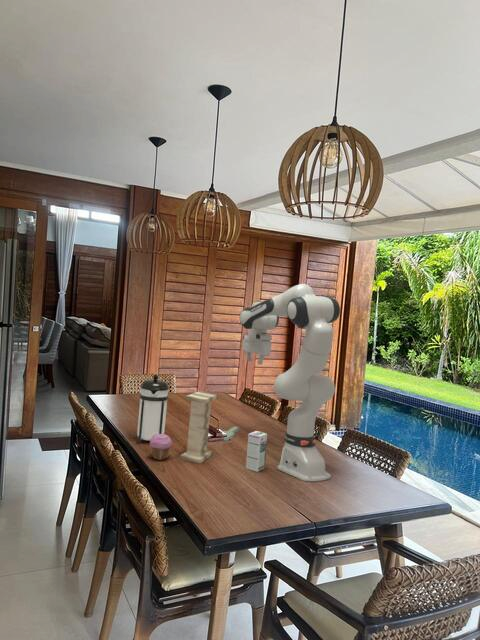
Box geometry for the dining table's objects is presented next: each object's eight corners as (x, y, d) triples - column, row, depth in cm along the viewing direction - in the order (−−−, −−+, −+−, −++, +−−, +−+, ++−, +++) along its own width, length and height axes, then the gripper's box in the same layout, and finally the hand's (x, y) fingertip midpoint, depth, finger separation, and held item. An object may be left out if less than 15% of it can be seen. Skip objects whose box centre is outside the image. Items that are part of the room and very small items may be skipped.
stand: (193, 450, 210) (198, 391, 209) (212, 454, 207) (217, 394, 206) (179, 459, 198) (185, 396, 197) (199, 463, 195) (205, 399, 194)
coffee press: (175, 442, 220) (181, 376, 219) (146, 447, 208) (152, 378, 207) (152, 432, 232) (157, 370, 230) (123, 437, 220) (129, 371, 219)
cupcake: (160, 463, 190) (162, 438, 190) (143, 458, 195) (146, 433, 194) (174, 458, 198) (176, 434, 197) (158, 453, 202) (160, 429, 202)
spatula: (230, 428, 251) (230, 425, 251) (241, 430, 249) (241, 427, 249) (215, 438, 231) (216, 435, 231) (227, 441, 229) (227, 437, 229)
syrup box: (257, 472, 191) (261, 436, 190) (245, 468, 194) (248, 432, 193) (264, 468, 196) (268, 433, 195) (252, 465, 199) (255, 430, 198)
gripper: (240, 332, 243) (238, 359, 243) (263, 336, 225) (260, 366, 226) (251, 332, 246) (248, 359, 247) (274, 337, 229) (271, 366, 229)
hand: (254, 362), depth 236 cm, fingers open, 8 cm apart
